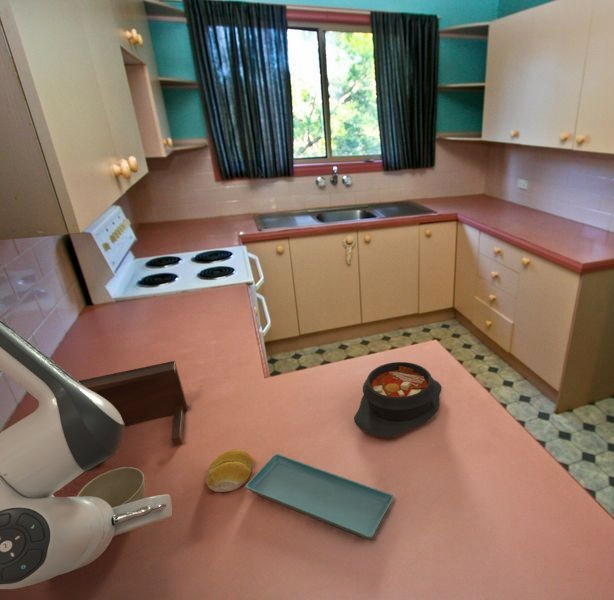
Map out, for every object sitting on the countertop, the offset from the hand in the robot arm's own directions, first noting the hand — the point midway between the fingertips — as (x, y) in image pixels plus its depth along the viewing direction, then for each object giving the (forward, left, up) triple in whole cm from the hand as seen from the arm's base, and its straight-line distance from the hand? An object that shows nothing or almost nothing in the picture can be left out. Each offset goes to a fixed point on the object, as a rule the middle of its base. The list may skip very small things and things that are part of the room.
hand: (110, 525), depth 69 cm
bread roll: (+18, +8, -5) cm, 20 cm away
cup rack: (0, +28, -4) cm, 28 cm away
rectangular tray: (+33, -5, -5) cm, 33 cm away
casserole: (+56, +13, -5) cm, 58 cm away
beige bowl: (0, +5, -5) cm, 7 cm away
